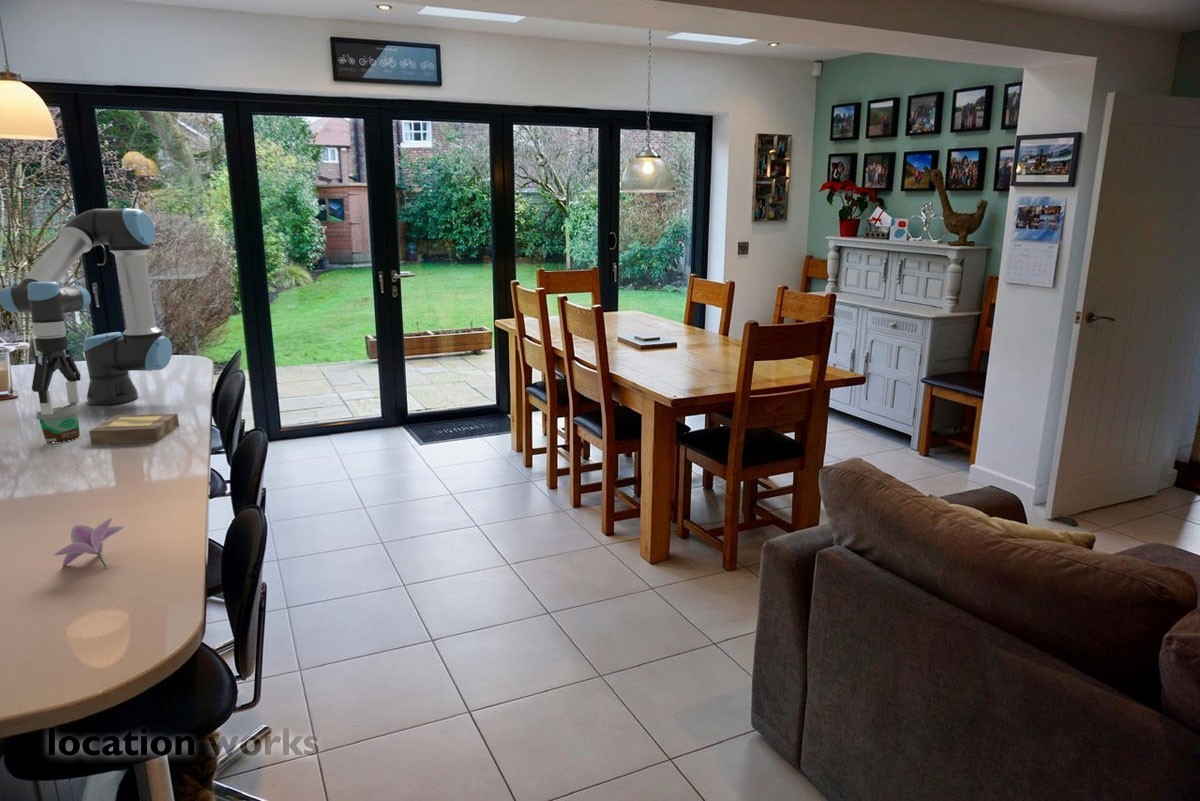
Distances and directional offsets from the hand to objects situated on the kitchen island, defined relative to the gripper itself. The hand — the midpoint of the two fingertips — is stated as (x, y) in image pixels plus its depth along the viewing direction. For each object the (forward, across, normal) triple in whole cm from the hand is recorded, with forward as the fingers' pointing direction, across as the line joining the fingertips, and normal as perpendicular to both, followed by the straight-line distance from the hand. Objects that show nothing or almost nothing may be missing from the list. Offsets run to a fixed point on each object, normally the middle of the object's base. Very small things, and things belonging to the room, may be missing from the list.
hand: (61, 409), depth 227 cm
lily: (+13, +85, +47) cm, 98 cm away
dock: (+9, -3, +18) cm, 21 cm away
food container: (+10, -1, 0) cm, 10 cm away
